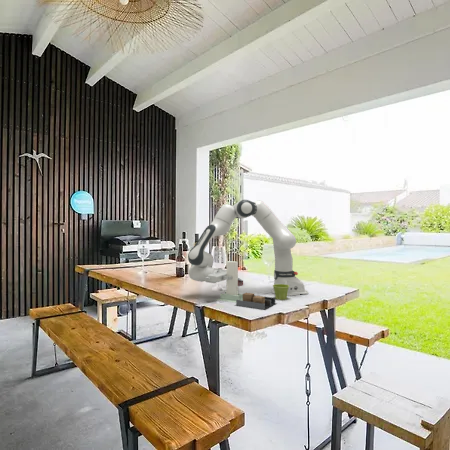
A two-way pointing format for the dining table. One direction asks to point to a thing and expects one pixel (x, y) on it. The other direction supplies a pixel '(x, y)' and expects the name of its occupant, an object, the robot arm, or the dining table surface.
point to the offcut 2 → (259, 299)
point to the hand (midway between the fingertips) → (233, 277)
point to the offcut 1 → (248, 297)
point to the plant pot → (281, 291)
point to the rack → (255, 305)
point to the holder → (230, 297)
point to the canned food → (240, 282)
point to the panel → (233, 283)
